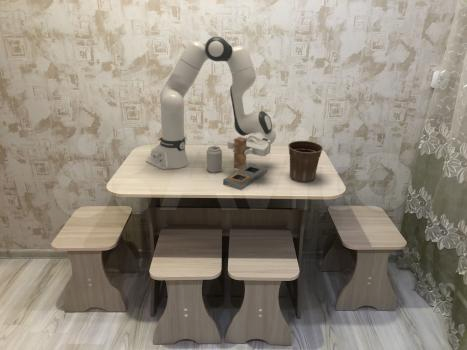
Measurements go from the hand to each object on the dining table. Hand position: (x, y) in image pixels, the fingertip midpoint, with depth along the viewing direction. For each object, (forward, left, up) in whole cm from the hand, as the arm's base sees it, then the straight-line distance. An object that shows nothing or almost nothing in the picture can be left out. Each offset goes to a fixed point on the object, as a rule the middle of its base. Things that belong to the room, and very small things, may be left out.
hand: (239, 151), depth 179 cm
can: (-18, +6, -16) cm, 25 cm away
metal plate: (0, +7, -16) cm, 17 cm away
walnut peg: (0, +1, -8) cm, 8 cm away
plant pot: (+22, +24, -16) cm, 36 cm away
